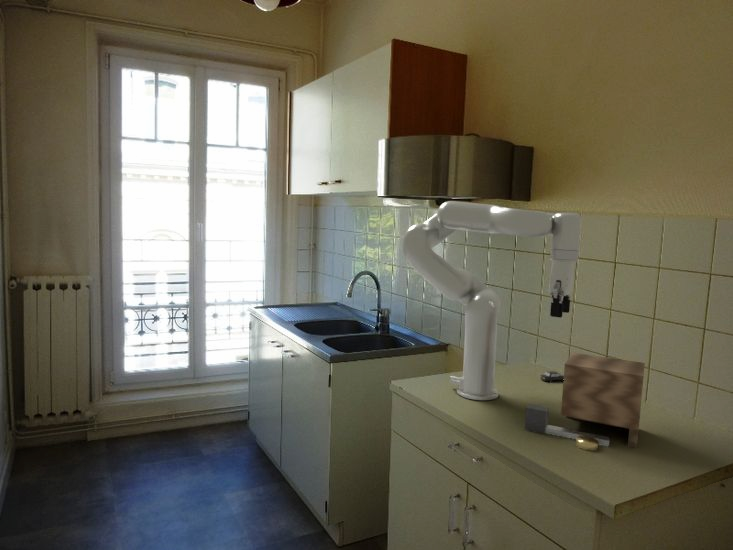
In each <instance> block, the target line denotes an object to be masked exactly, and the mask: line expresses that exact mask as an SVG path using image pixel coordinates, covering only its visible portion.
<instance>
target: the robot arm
mask: <svg viewBox="0 0 733 550" xmlns="http://www.w3.org/2000/svg"><path fill="white" fill-rule="evenodd" d="M581 226H582V216H581V215H580V214H579V213H576V212H557V213H552V212H546V211H542V210H534V209H533V210H531V209H521V208H512V207H504V206H501V205H496V204H487V203H476V202H467V201H457V200H448V201H444V202H443V203H441V204H440V206H439V207H438V209H437V212H436V213H435V214H434V215H433V216H431V217H430V218H429V219H427V220H426V221H424V222H423V223H419V222H418V223H416V224H415V223H414V224H412V225H411V226H410V227H409V228H408V229H406V232H405V234H404V236H403V240H402V251H403V255H404V258H405V260H406V261H407V263H408V264H409V266H410V267H411V269H412V270H414V271H415V272H416V273H417V274H418V275H420V276H421V277H422V278H423V279H424V280H426V282H427V283H429V285H432V287H433V288H435V289H436V290H437V291H438V292H439V293H440V294H442V295H443V297H445V298H446V299H447V300H450V301H453V302H458V301H459V302H460V303H461V304H462V305H463V306H465V310H464V346H463V347H464V349H463V364H462V365H463V367H462V376H460V377H458V376H454V375H450V377H449V382H450V383H451V385H457V386H458V387H457V388H456V393H457V394H458V395H459V396H460V397H463V398H465V399H469V400H474V401H491V400H495V399H497V398H498V397H499V391H498V390H497V389H496V388H494V386H495V368H496V356H497V355H496V353H497V352H496V351H497V335H498V334H497V333H498V315H499V313H500V310H501V304H502V303H501V299H500V297H499V296H498V294H497V293H496V292H495V291H494V290H492V289H491V288H490V287H489V286H488V285H486V284H485V283H484V282H483V281H481V280H480V279H479V278H478V277H476V276H475V275H474V274H473V273H471V272H470V271H468V270H466V269H464V268H459V267H458V268H455V267H454V266H453V265H452V264H450V263H449V262H448V261H446V260H445V259H444V258H443V257H442V256H440V255H439V254H437V253H436V252H435V251H434V250H433V248H435V247H436V246H437V245H440V243H442V242H443V241H444V240H446V239H447V238H449V237H450V236H451V235H453V234H454V233H455V232H457V231H467V232H473V233H474V232H476V233H483V234H484V233H485V234H492V235H494V234H495V235H497V234H500V235H508V236H519V237H526V238H527V237H528V238H535V239H538V238H544V237H551V245H550V259H549V260H550V261H552V263H551V269H550V275H549V281H548V282H549V284H548V294H549V295H550V296H551V300H550V310H549V311H550V312H549V313H550V315H549V316H550V317H552V318H562V317H563V313H566V314H569V313H570V307H571V294H572V291H573V287H574V285H573V284H574V272H575V271H574V269H575V263H578V262H579V252H580V251H579V250H580V249H579V248H580V240H581V239H580V238H581V237H580V236H581Z"/></svg>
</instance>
